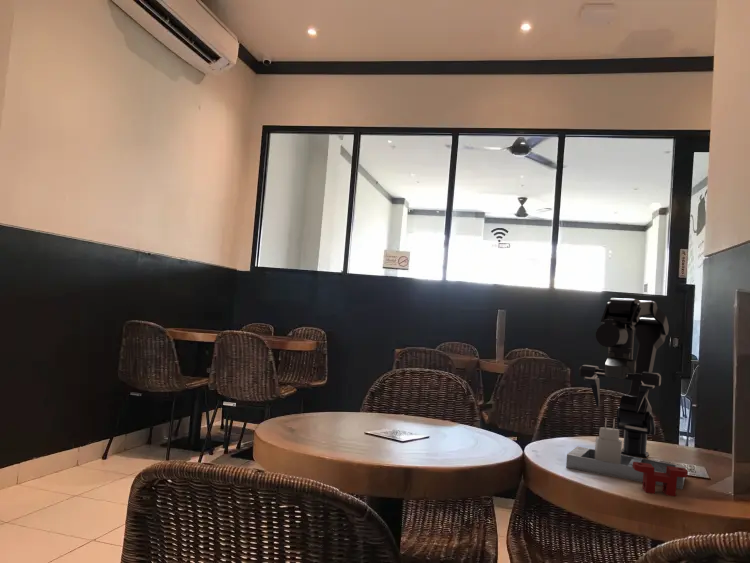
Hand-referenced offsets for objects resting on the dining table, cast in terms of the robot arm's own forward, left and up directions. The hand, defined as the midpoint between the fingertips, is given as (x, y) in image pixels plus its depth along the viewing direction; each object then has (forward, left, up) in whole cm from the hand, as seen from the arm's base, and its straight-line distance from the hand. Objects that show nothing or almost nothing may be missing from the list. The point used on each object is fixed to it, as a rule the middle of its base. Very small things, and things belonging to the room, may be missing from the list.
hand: (617, 409), depth 146 cm
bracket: (+22, +17, -10) cm, 30 cm away
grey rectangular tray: (+11, +4, -13) cm, 17 cm away
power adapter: (+11, 0, -13) cm, 17 cm away
